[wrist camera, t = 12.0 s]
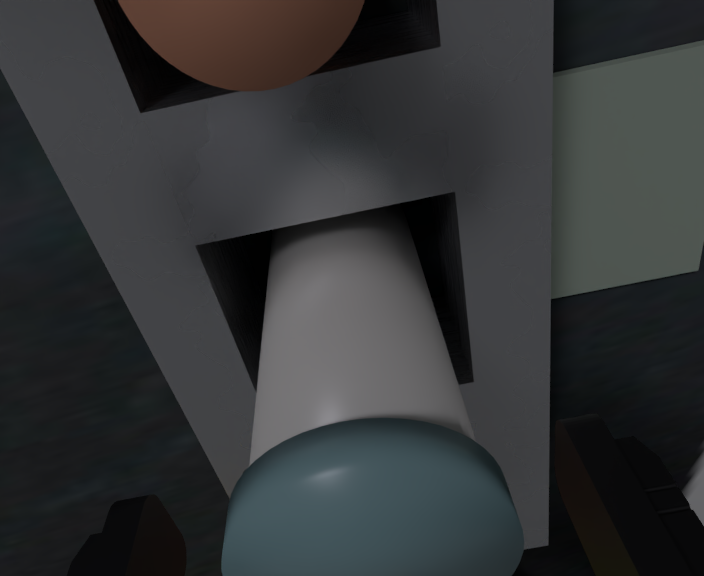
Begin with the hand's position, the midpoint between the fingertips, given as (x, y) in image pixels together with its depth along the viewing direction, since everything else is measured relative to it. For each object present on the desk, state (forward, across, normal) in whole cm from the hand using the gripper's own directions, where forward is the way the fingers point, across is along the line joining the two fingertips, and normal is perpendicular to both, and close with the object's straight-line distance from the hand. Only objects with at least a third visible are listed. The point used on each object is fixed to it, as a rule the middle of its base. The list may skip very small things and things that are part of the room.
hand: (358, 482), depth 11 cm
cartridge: (+10, 0, 0) cm, 10 cm away
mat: (+10, -10, 0) cm, 14 cm away
